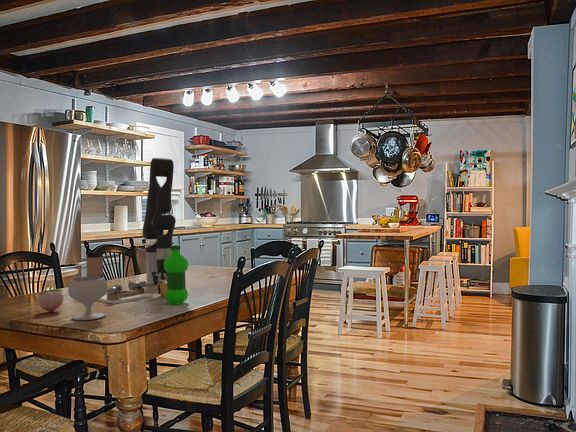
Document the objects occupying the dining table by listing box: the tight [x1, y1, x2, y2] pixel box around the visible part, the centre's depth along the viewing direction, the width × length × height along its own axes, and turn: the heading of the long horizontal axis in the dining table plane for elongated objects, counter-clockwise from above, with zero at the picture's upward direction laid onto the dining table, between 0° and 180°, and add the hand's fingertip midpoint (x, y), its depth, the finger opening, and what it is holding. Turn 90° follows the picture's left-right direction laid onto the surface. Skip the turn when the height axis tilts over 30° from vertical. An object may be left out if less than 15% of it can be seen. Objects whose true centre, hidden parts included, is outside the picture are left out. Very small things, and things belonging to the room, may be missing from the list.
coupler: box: [159, 282, 167, 298], centre depth 243 cm, size 5×5×6 cm
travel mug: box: [85, 250, 104, 277], centre depth 257 cm, size 8×8×20 cm
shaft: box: [127, 280, 148, 294], centre depth 245 cm, size 8×5×6 cm, turn 139°
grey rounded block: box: [106, 284, 123, 300], centre depth 231 cm, size 8×5×6 cm, turn 174°
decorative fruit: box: [38, 287, 64, 313], centre depth 210 cm, size 9×8×10 cm
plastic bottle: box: [164, 244, 189, 306], centre depth 224 cm, size 10×10×25 cm
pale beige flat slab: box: [97, 290, 154, 304], centre depth 239 cm, size 20×18×3 cm
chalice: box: [67, 276, 109, 321], centre depth 198 cm, size 14×14×15 cm
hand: (165, 294), depth 243 cm, fingers closed on coupler, 5 cm apart
